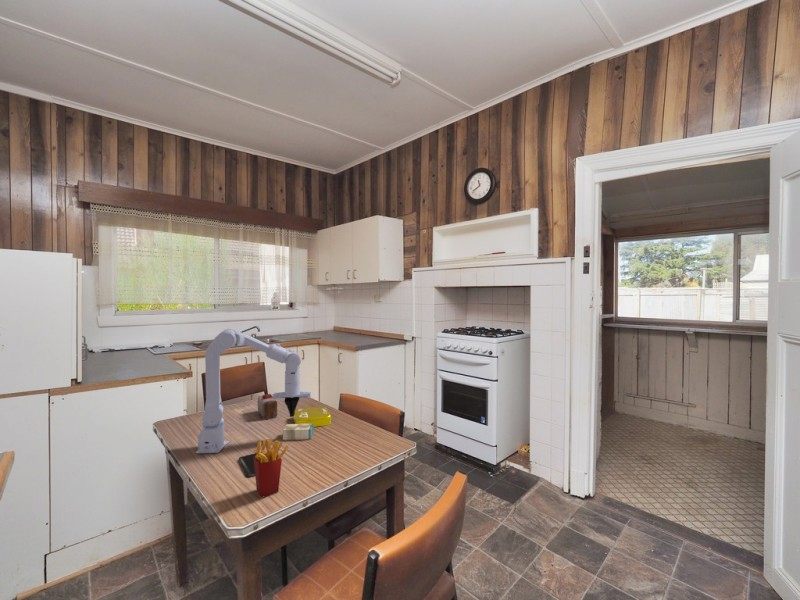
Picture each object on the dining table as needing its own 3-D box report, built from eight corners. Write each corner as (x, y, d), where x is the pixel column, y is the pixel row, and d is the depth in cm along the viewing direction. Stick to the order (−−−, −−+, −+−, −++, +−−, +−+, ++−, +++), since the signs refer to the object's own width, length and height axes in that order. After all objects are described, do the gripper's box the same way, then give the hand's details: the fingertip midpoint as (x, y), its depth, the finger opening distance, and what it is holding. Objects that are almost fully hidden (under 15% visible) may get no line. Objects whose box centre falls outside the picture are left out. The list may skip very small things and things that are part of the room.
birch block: (282, 440, 138) (311, 439, 139) (282, 430, 138) (311, 429, 139) (286, 433, 144) (313, 433, 145) (286, 424, 144) (313, 423, 145)
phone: (248, 475, 109) (238, 457, 121) (248, 479, 109) (238, 460, 121) (274, 468, 114) (261, 451, 126) (274, 472, 114) (261, 454, 126)
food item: (255, 412, 169) (255, 392, 169) (272, 409, 174) (272, 389, 174) (262, 420, 158) (262, 399, 158) (280, 417, 163) (280, 396, 163)
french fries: (258, 500, 97) (258, 447, 97) (251, 487, 104) (251, 437, 104) (289, 490, 103) (289, 439, 102) (280, 478, 109) (281, 430, 109)
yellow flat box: (331, 425, 154) (331, 415, 154) (296, 430, 148) (296, 419, 148) (325, 414, 168) (325, 404, 168) (293, 418, 162) (293, 408, 162)
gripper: (312, 379, 145) (312, 412, 145) (276, 380, 144) (276, 412, 144) (309, 383, 138) (309, 418, 138) (271, 384, 137) (271, 418, 137)
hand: (292, 415), depth 141 cm, fingers closed
